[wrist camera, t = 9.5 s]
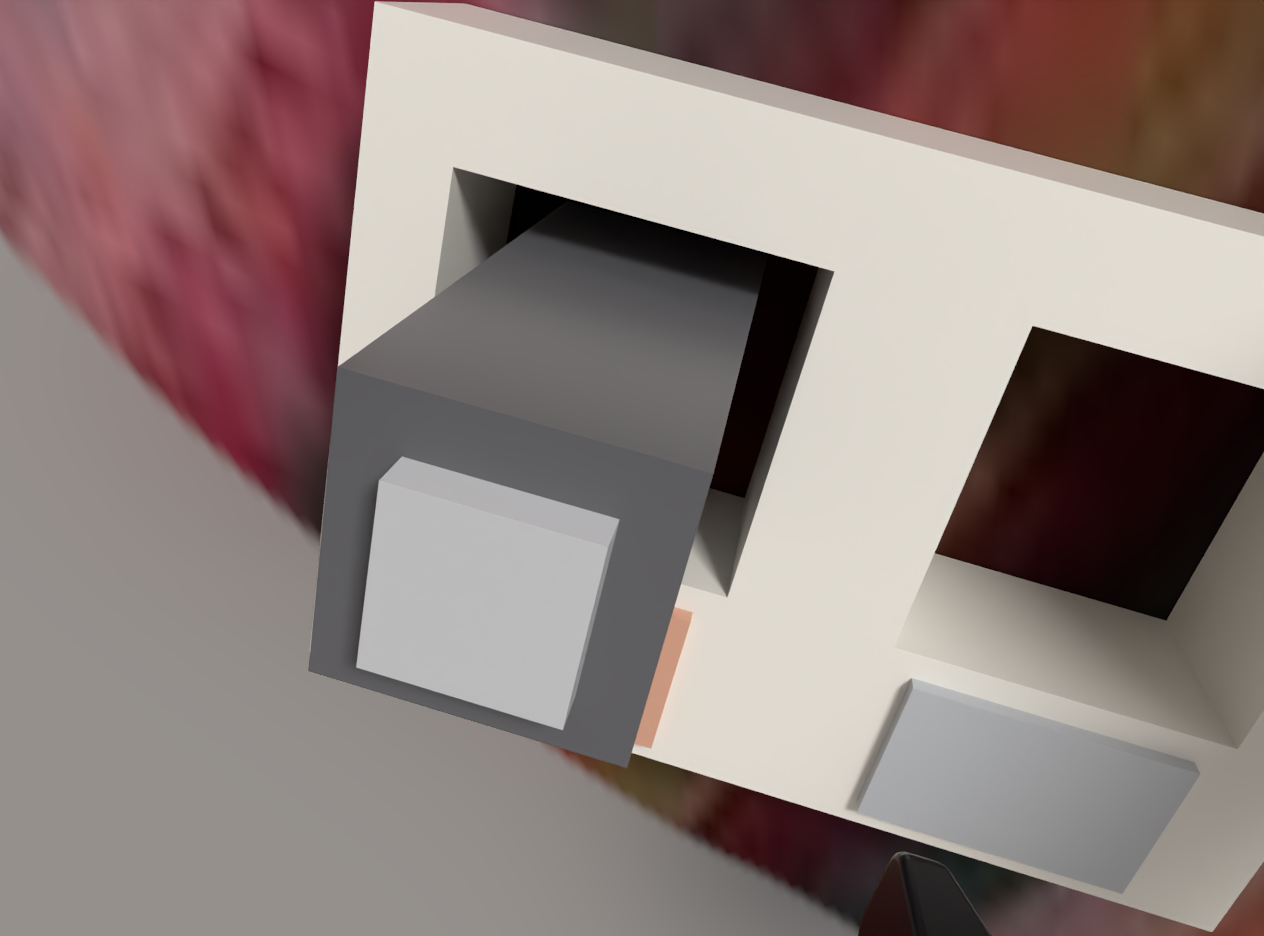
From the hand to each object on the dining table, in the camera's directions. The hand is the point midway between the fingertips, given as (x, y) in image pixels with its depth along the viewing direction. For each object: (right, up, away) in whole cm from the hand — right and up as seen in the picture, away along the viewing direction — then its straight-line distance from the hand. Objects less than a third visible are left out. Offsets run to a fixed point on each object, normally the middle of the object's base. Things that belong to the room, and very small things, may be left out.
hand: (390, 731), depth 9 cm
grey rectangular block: (+2, +5, +11) cm, 13 cm away
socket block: (+6, +3, +11) cm, 13 cm away
